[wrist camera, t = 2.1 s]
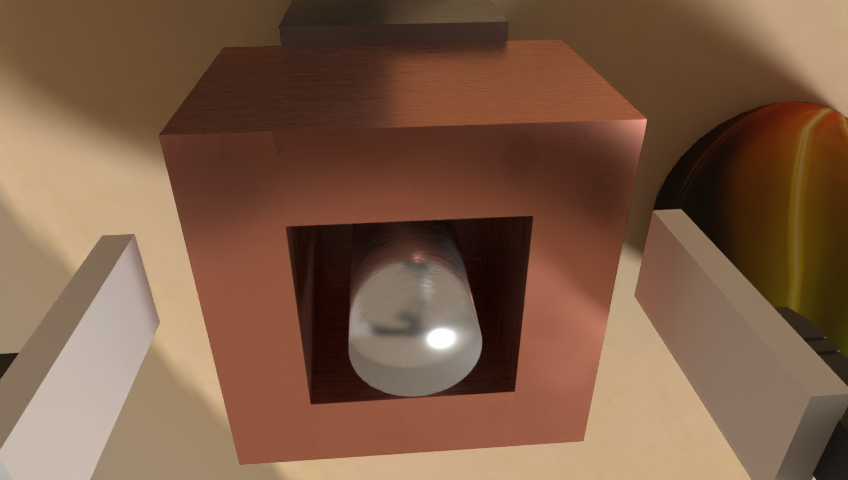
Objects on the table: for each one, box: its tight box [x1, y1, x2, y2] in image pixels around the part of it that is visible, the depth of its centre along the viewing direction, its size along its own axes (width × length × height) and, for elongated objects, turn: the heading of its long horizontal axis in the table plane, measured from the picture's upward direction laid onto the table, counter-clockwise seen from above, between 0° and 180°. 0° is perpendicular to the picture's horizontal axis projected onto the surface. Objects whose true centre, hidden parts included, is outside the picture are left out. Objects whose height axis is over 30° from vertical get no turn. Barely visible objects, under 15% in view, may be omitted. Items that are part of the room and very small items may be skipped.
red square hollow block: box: [159, 39, 647, 465], centre depth 16 cm, size 9×9×6 cm
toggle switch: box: [279, 0, 508, 396], centre depth 18 cm, size 10×6×13 cm, turn 0°
